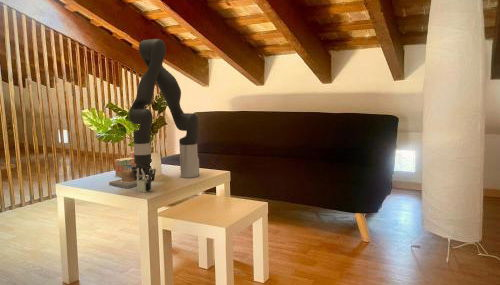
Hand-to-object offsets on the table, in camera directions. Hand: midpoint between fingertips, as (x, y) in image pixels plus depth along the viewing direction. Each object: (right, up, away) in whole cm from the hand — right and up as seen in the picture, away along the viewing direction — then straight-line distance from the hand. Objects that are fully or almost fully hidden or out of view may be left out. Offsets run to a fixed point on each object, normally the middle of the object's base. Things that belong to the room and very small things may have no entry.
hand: (144, 189), depth 179 cm
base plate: (-10, +1, +13) cm, 17 cm away
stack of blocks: (-15, +4, +37) cm, 40 cm away
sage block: (0, 0, 0) cm, 0 cm away
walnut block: (-10, +3, +13) cm, 17 cm away
